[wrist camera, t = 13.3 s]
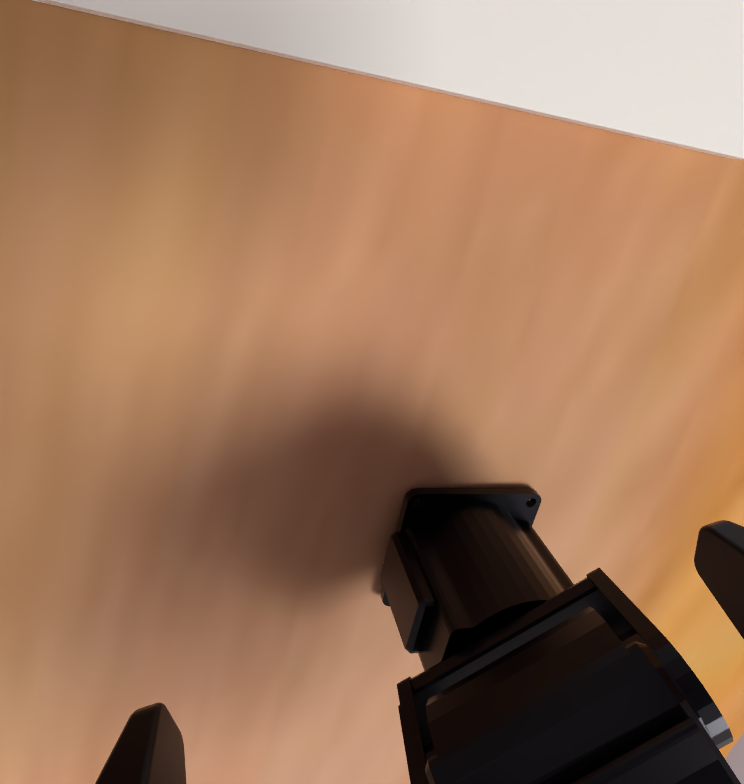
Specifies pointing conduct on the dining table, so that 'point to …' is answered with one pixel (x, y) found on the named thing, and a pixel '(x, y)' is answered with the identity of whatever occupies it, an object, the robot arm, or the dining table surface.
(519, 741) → the robot arm
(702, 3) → the board
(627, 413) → the dining table surface
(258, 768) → the dining table surface
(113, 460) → the dining table surface
